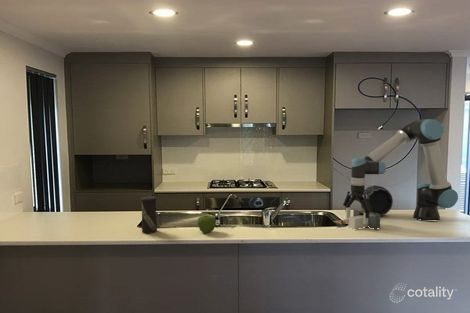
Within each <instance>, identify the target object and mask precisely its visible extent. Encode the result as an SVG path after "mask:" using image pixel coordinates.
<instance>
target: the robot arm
mask: <svg viewBox="0 0 470 313" xmlns="http://www.w3.org/2000/svg"><path fill="white" fill-rule="evenodd" d="M443 127H444V126H443V125H442V123H441V122H440V121H438V120H437V119H431V118H428V119H427V118H425V119H424V118H423V119H414V120H411V121H410V122H407V124H405V125H404V126H403V127H401V128H399V129H397V131H396V133H395V135H393V136H392V137H390V138H389V139H388V140H386V141H385V142H384V143H382V144H380V145H379V146H377V148H376V149H374V150H372V151H371V152H370V153H369V154H367V155H366V156H365V157H353V158H352V159H351V166H350V168H351V172H350V173H351V174H350V176H351V177H350V184H351V185H350V190H349V191H347V194H346V197H345V199H344V201H343V204H342V206H344V207H345V218H346V219H349V217H351V213H352V212H351V206H352V204H353V203H354V202H355V201H357V202H359V203H360V206H361V205H362V207H363V208H362V207H361V208H362V210H364V211H365V212H364V224H367V223H368V218H369V212H372V208H371V205H370V202H369V199H368V195H364V191H365V189H366V188H365V187H366V186H365V184H366V180H365V179H366V175H384V174H385V173H386V168H387V167H386V163H385V162H384V161H383V160H384V159H386V158H387V157H389V155H392V153H394V152H395V151H397V150H398V149H400V147H401V146H403V145H404V144H405V143H407V144H409V143H410V142H411V141H414V140H418V144H419V145H420V146H421V147H422V149H423V154H424V158H425V161H426V162H425V164H426V168H427V171H428V175H429V180H430V182H422V183H418V184H417V187H416V207H415V210H414V212H413V219H415V218H417V219H416V220H418V219H421V220H420V221H423V220H439V221H441V215H440V212H439V209H438V207H439V208H444V209H451V208H453V207H454V206H455V205H456V203H458V199H459V195H458V192H457V191H456V190H454V189H453V187H452V184H451V182H450V181H448V179H447V175H446V170H445V165H444V160H443V156H442V152H441V147H440V142H441V140H442V138H441V137H442V136H443V134H444V128H443Z"/></svg>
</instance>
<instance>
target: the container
mask: <svg viewBox="0 0 470 313" xmlns="http://www.w3.org/2000/svg"><path fill="white" fill-rule="evenodd" d="M157 200H158V199H157V196H150V195H149V196H143V197H141V198H140V202H141V232H142V233H143V234H153V233H156V232H157V231H158V222H157Z"/></svg>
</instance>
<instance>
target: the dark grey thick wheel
mask: <svg viewBox="0 0 470 313" xmlns="http://www.w3.org/2000/svg"><path fill="white" fill-rule="evenodd" d="M364 195H368V199H369V202H370V205H371V208H372V212H374V213H378V214H380V217H382V216H385V215H387V214H388V213H389V212H390V211H391V209H392V207H393V205H394V204H393V203H394V199H393V196H392V193H391V192H390V190H388V189H387V188H385V187H383V186H381V185H376V184H375V185H371V186H368V187H366V188H365V191H364ZM360 206H361V209H363V207H362V205H361V204H360Z"/></svg>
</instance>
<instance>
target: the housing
mask: <svg viewBox="0 0 470 313" xmlns="http://www.w3.org/2000/svg"><path fill="white" fill-rule="evenodd" d="M364 212H365V211H364V209H363V208H353V212H352V213H353V216H352V217H354V216H360V215H364ZM369 227H370V228H374V229H377V228H380V229H381V216H380V214H378V213H374V212H369ZM370 228H369V229H370Z"/></svg>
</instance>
